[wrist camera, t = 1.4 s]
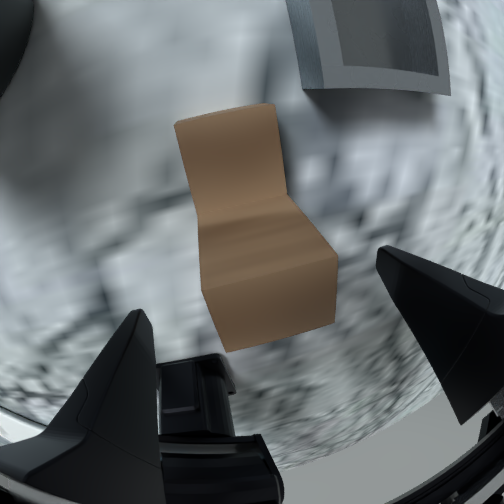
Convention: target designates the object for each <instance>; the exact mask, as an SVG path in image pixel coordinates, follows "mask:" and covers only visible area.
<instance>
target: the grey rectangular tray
mask: <svg viewBox="0 0 504 504" xmlns="http://www.w3.org/2000/svg"><path fill="white" fill-rule="evenodd" d="M286 3H287V8H288V12H289V17H290V22H291V27H292V32H293V37H294V42H295V48H296V53H297V59H298V65H299V71H300V77H301V84H302V89H329V88H378V89H396V90H409V91H419V92H427V93H435V94H441V95H448V96H451V89H450V75H449V65H448V57H447V50H446V43H445V37H444V32H443V27H442V22H441V17H440V13H439V9H438V5H437V1H436V0H286Z"/></svg>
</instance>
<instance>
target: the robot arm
mask: <svg viewBox="0 0 504 504" xmlns="http://www.w3.org/2000/svg"><path fill="white" fill-rule="evenodd" d="M376 269H377V271H378V273H379V275H380V277H381V279H382V281H383V283H384V285H385V287H386V289H387V291H388V293H389V295H390V296H391V298H392V300H393V302H394V303H395V305H396V307H397V308H398V310H399V311H400V313H401V315H402V316H403V318H404V319H405V321H406V323H407V324H408V326H409V328H410V329H411V331H412V333H413V334H414V336H415V338H416V340H417V341H418V343H419V345H420V346H421V348H422V350H423V352H424V354H425V355H426V357H427V359H428V361H429V363H430V364H431V366H432V368H433V370H434V372H435V374H436V376H437V378H438V380H439V381H440V383H441V386H442V388H443V390H444V392H445V394H446V396H447V398H448V400H449V402H450V404H451V406H452V408H453V410H454V412H455V415H456V417H457V419H458V421H459V423H460V425H462V424H464V423H465V422H466V421H467V420H469V419H470V418H471V417H473V416H474V415H475V414H476V413H477V412H479V411H480V410H481V409H482V408H483V407H484V406H485V405H486V404H488V403H489V404H490V405H491V407H492V409H493V410H492V411H491V412H490V413H489V414H488V415H487V416H485V417H484V418H483V419H482V424H481V429H480V434H479V439H478V443H477V444H476V445H475V446H474V447H472V448H471V449H470V450H469V451H467V452H466V453H465V454H464V455H462V456H461V457H460V458H458V459H457V460H456V461H454V462H453V463H452V464H450V465H449V466H447V467H446V468H445V469H443V470H442V471H440V472H439V473H437V474H436V475H434V476H433V477H431V478H430V479H428V480H427V481H425V482H423V483H422V484H420V485H418V486H417V487H415V488H413V489H411V490H410V491H408V492H406V493H404V494H402V495H401V496H399V497H397V498H395V499H393V500H391V501H389V502H387V503H385V504H439V503H441V504H504V497H503V496H502V493H503V492H504V290H503V289H500V288H497V287H494V286H492V285H489V284H486V283H483V282H481V281H478V280H476V279H473V278H471V277H468V276H466V275H464V274H462V275H461V273H459V272H456V271H454V270H451V269H449V268H446V267H444V266H441V265H439V264H436V263H434V262H431V261H429V260H426V259H424V258H421V257H418V256H416V255H413V254H411V253H408V252H405V251H403V250H400V249H397V248H394V247H392V246H389V245H386V246H382V247H380V248H379V249H378V251H377V259H376ZM83 378H84V379H82V380H81V381H80V383H79V384H78V386H77V387H76V389H75V390H74V392H73V393H72V394H71V396H70V397H69V399H68V400H67V401H66V403H65V404H64V405H63V407H62V408H61V409H60V410H59V412H58V413H57V414H56V416H55V417H54V418H53V420H52V421H51V422H50V424H49V425H48V426H47V427H46V429H45V430H44V431H43V432H41V433H40V434H38V435H36V436H34V437H31V438H28V439H25V440H21V441H18V442H15V443H11V444H8V445H4V446H0V474H1V475H3V476H5V477H7V478H9V489H7V488H5V487H3V486H0V504H282V502H283V499H284V484H283V481H282V478H281V475H280V473H279V471H278V469H277V467H276V465H275V463H274V461H273V459H272V457H271V455H270V452H269V450H268V448H267V446H266V444H265V442H264V440H263V438H262V436H261V434H253V435H252V436H235V431H234V426H233V420H232V415H231V409H230V404H229V398H228V396H229V395H234V394H236V388H235V386H234V384H233V382H232V380H231V377H230V375H229V373H228V371H227V369H226V367H225V365H224V363H223V360H222V358H221V356H220V355H219V354H210V355H205V356H200V357H195V358H190V359H185V360H179V361H173V362H167V363H161V364H156V358H155V349H154V338H153V328H152V325H151V323H150V321H149V319H148V318H147V316H146V314H145V312H144V311H143V310H142V309H136V310H132V311H131V312H130V313H129V314H128V316H127V317H126V318H125V320H124V321H123V322H122V324H121V325H120V326H119V328H118V329H117V330H116V332H115V333H114V334H113V336H112V337H111V338H110V340H109V341H108V343H107V344H106V345H105V347H104V348H103V350H102V351H101V352H100V354H99V355H98V357H97V358H96V360H95V361H94V362H93V364H92V365H91V367H90V368H89V370H88V371H87V373H86V374H85V375H84V377H83ZM156 388H157V390H158V391H159V434H160V435H158V420H157V393H156Z"/></svg>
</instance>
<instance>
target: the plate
mask: <svg viewBox="0 0 504 504" xmlns="http://www.w3.org/2000/svg"><path fill="white" fill-rule="evenodd" d="M45 429H46V426H44V425H41V424H38V423H36V422H33V421H31V420H28V419H26V418H24V417H21V416H19V415H17V414H15V413H12V412H10V411H8V410H6V409H4V408H2V407H0V435H1V436H2V437H4V438H5V439H7V440H9V441H10V442H12V443H15V442H18V441H21V440H25V439H28V438H31V437H34V436H36V435H38V434H40V433H41V432H43V431H44V430H45Z"/></svg>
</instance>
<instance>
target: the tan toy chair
mask: <svg viewBox="0 0 504 504" xmlns="http://www.w3.org/2000/svg"><path fill="white" fill-rule="evenodd" d="M174 128H175V132H176V136H177V140H178V144H179V148H180V152H181V156H182V160H183V164H184V168H185V172H186V175H187V179H188V183H189V187H190V190H191V194H192V198H193V201H194V205H195V208H196V212H197V217H198V242H199V261H200V278H201V291H202V294H203V296H204V299H205V301H206V304H207V307H208V309H209V312H210V314H211V317H212V320H213V322H214V325H215V327H216V330H217V332H218V334H219V337H220V339H221V342H222V344H223V347H224V349H225V351H226V353H227V352H232V351H236V350H240V349H245V348H249V347H253V346H257V345H261V344H264V343H268V342H272V341H276V340H279V339H283V338H286V337H290V336H293V335H297V334H300V333H304V332H307V331H310V330H313V329H317V328H320V327H323V326H326V325H329V324H332V323H335V310H336V294H337V274H338V255H337V253H336V252H335V251H334V250H333V248H332V247H331V246H330V245H329V243H328V242H327V241H326V240H325V239H324V237H323V236H322V235H321V234H320V232H319V231H318V230H317V229H316V228H315V226H314V225H313V224H312V223H311V222H310V220H309V219H308V218H307V217H306V216H305V214H304V213H303V212H302V211H301V210H300V209H299V207H298V206H297V205H296V204H295V203H294V202H293V200H292V199H291V198H290V197H289V196H288V195H287V189H286V181H285V173H284V165H283V158H282V150H281V143H280V136H279V129H278V122H277V116H276V109H275V104H265V103H262V104H255V105H249V106H243V107H238V108H232V109H227V110H222V111H217V112H213V113H208V114H204V115H200V116H196V117H192V118H188V119H184V120H180V121H177V122H176V123H175V124H174Z"/></svg>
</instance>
